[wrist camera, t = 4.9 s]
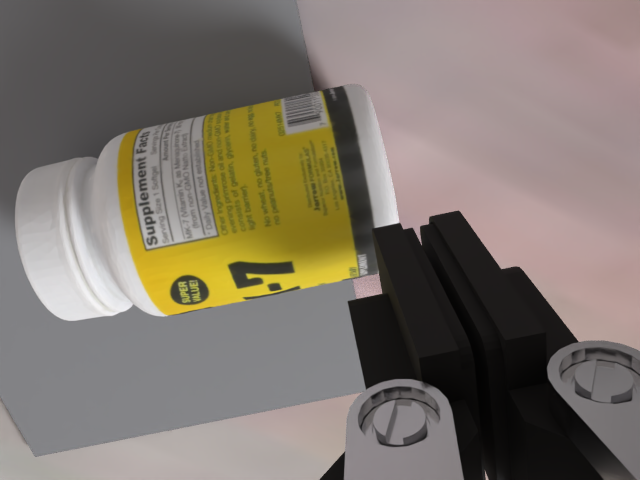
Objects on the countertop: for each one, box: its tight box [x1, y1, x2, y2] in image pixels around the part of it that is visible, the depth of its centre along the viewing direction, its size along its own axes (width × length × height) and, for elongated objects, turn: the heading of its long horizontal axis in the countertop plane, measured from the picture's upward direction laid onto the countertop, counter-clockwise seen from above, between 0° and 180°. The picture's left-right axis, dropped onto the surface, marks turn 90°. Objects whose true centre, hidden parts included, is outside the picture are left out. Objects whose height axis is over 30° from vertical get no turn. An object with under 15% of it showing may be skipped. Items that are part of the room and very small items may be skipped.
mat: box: [0, 0, 366, 457], centre depth 17 cm, size 12×16×1 cm
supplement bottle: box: [15, 84, 399, 321], centre depth 15 cm, size 5×5×8 cm
